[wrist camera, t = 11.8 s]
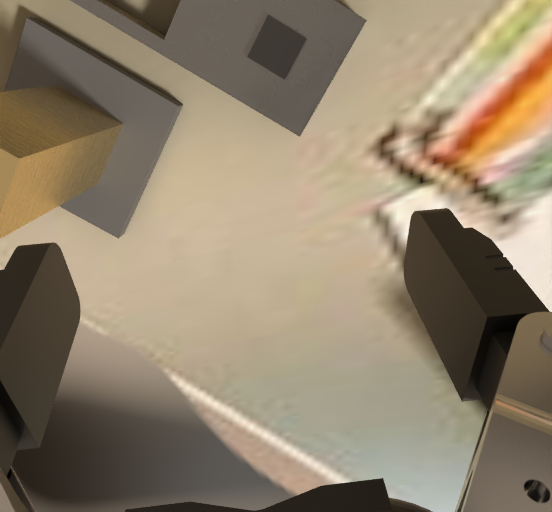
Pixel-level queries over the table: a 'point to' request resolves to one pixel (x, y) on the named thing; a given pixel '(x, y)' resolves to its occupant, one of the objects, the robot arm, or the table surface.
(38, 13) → the table surface
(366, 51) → the table surface
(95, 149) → the brass block
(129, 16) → the rail
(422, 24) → the table surface
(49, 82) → the mat
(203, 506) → the robot arm
